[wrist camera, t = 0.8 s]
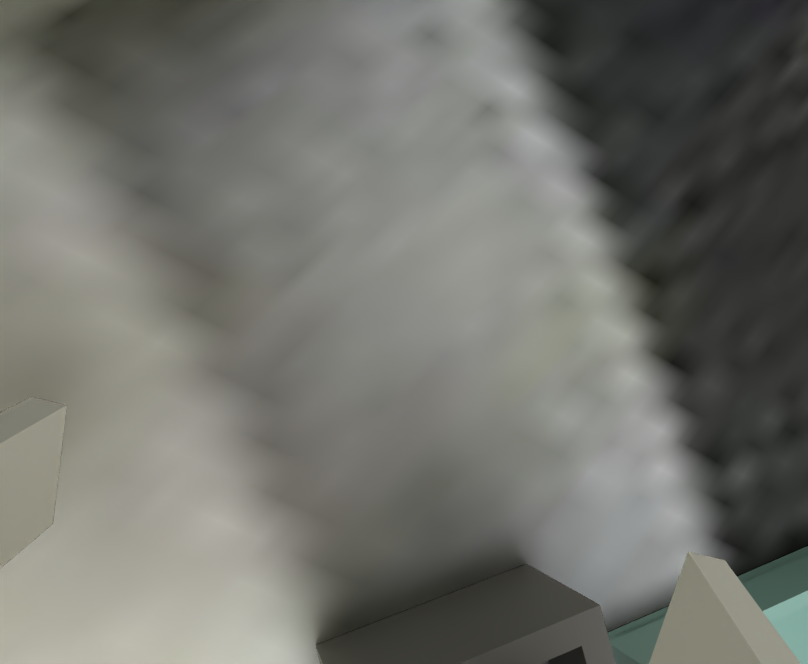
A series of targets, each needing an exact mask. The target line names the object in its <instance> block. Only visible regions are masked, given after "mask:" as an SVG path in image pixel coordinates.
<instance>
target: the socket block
mask: <svg viewBox="0 0 808 664" xmlns="http://www.w3.org/2000/svg"><path fill="white" fill-rule="evenodd" d="M316 648H317V652H318V656H319V659H320V663H321V664H616V662H615V659H614V655H613V651H612V648H611V644H610V640H609V637H608V633H607V629H606V626H605V622H604V618H603V615H602V611H601V607H600V605H599V604H597V603H596V602H594V601H592V600H590V599H588V598H587V597H585V596H583V595H581V594H579V593H578V592H576V591H574V590H572V589H571V588H569V587H567V586H565V585H563V584H562V583H560V582H558V581H556V580H554V579H553V578H551V577H549V576H547V575H546V574H544V573H542V572H540V571H538V570H537V569H535V568H533V567H531V566H529V565H528V564H525V565H522V566H520V567H517V568H515V569H512V570H509V571H507V572H504V573H502V574H499V575H496V576H494V577H491V578H489V579H486V580H483V581H481V582H478V583H476V584H473V585H471V586H468V587H465V588H463V589H460V590H458V591H455V592H452V593H450V594H447V595H445V596H442V597H439V598H437V599H434V600H432V601H429V602H426V603H424V604H421V605H419V606H416V607H413V608H411V609H408V610H406V611H403V612H400V613H398V614H395V615H393V616H390V617H388V618H385V619H382V620H380V621H377V622H375V623H372V624H369V625H367V626H364V627H362V628H359V629H356V630H354V631H351V632H349V633H346V634H343V635H341V636H338V637H336V638H333V639H330V640H328V641H325V642H323V643H320V644H317V645H316Z"/></svg>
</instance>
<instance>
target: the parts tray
mask: <svg viewBox="0 0 808 664" xmlns="http://www.w3.org/2000/svg"><path fill="white" fill-rule="evenodd" d="M737 577H738V579H739V580H740V582H741V583H742V584H743V586H744V587H745V588H746V590H747V591H748V592H749V594H750V595H751V597H752V598H753V599H754V601H755V602H756V603H757V605H758V606H759V607H760V609H761V610H762V611H763V613H764V614H765V616H766V617H767V618H768V620H769V621H770V622H771V624H772V625H773V626H774V628H775V629H776V630H777V632H778V633H779V635H780V636H781V637H782V639H783V640H784V641H785V643H786V644H787V645H788V647H789V648H790V650H791V651H792V652H793V654H794V655H795V656H796V658H797V659H798V660H799V662H800V663H801V664H808V546H807V547H804V548H802V549H800V550H797V551H795V552H793V553H790V554H788V555H786V556H783V557H781V558H779V559H777V560H774V561H772V562H770V563H767V564H765V565H763V566H760V567H758V568H756V569H753V570H751V571H749V572H747V573H744V574H742V575H740V576H737ZM668 607H669V606H668ZM668 607H666V608H663V609H661V610H659V611H656V612H654V613H652V614H649V615H647V616H645V617H643V618H640V619H638V620H636V621H633V622H631V623H629V624H626V625H624V626H622V627H619V628H617V629H615V630H613V631H610V632H608V637H609V640H610V644H611V648H612V651H613V655H614V659H615V662H616V664H649V662H650V659H651V656H652V653H653V650H654V648H655V645H656V642H657V639H658V636H659V633H660V630H661V628H662V625H663V622H664V619H665V616H666V613H667V610H668Z"/></svg>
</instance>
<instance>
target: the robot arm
mask: <svg viewBox="0 0 808 664" xmlns="http://www.w3.org/2000/svg"><path fill="white" fill-rule="evenodd" d="M66 409H67V405H64V404H60V403H56V402H51V401H47V400H43V399H39V398H34V397H30V398H28V399H26V400H24V401H22V402H20V403H18V404H16V405H14V406H12V407H10V408H8V409H6V410H4V411H2V412H0V568H1V567H3V566H4V565H5V564H6V563H7V562H9V561H10V560H11V559H12V558H13V557H14V556H16V555H17V554H18V553H19V552H20V551H21V550H23V549H24V548H25V547H26V546H27V545H28V544H30V543H31V542H32V541H33V540H34V539H36V538H37V537H38V536H39V535H40V534H41V533H43V532H44V531H45V530H46V529H47V528H48V527H50V526H51V525H52V524H53V520H54V511H55V503H56V494H57V486H58V477H59V469H60V460H61V452H62V443H63V435H64V426H65V418H66ZM649 664H801V663H800V662H799V660H798V659H797V658H796V656H795V655H794V654H793V652H792V651H791V650H790V648H789V647H788V645H787V644H786V643H785V641H784V640H783V639H782V637H781V636H780V635H779V633H778V632H777V630H776V629H775V628H774V626H773V625H772V624H771V622H770V621H769V620H768V618H767V617H766V616H765V614H764V613H763V611H762V610H761V609H760V607H759V606H758V605H757V603H756V602H755V601H754V599H753V598H752V597H751V595H750V594H749V592H748V591H747V590H746V588H745V587H744V586H743V584H742V583H741V582H740V580H739V579H738V577H737V576H736V575H735V573H734V572H733V571H732V569H731V568H730V567H729V565H728V564H727V563H726V561H725V560H721V559H717V558H713V557H709V556H705V555H700V554H696V553H692V552H688V553H687V556H686V559H685V562H684V565H683V567H682V570H681V573H680V576H679V579H678V582H677V585H676V587H675V590H674V593H673V596H672V599H671V602H670V605H669V607H668V610H667V613H666V616H665V619H664V622H663V625H662V628H661V630H660V633H659V636H658V639H657V642H656V645H655V648H654V650H653V653H652V656H651V659H650V662H649Z"/></svg>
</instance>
